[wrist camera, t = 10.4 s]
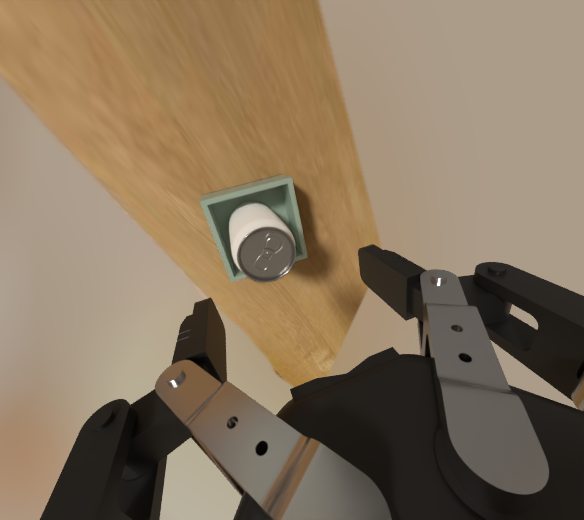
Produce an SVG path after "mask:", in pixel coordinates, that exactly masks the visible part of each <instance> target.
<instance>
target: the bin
mask: <svg viewBox="0 0 584 520" xmlns="http://www.w3.org/2000/svg"><path fill="white" fill-rule="evenodd" d="M246 202H259V203H262V204H264V205H266V206H267V207H269V208H270V209H271V210H272V211H273V212H274V213H275V214H276V215H277V216H278V217H279V219H280V220H281V221H282V222H283V223H284V224H285V225H286V226H287V227H288V228H289V230H290V231H291V233H292V235H293V237H294V240H295V246H296V258H295V262H296V261H299V260H303V259H306V258H308V255H307V250H306V245H305V240H304V235H303V230H302V225H301V220H300V216H299V211H298V206H297V201H296V196H295V191H294V186H293V181H292V177H290V176H286V175H278V176H274V177H270V178H266V179H263V180H259V181H255V182H251V183H247V184H243V185H239V186H236V187H232V188H228V189H224V190H220V191H216V192H212V193H209V194H205V195H202V197H201V199H200V204H201V206H202V209H203V211H204V214H205V217H206V219H207V222H208V224H209V227H210V229H211V232H212V235H213V237H214V240H215V242H216V245H217V247H218V250H219V253H220V255H221V258H222V260H223V263H224V265H225V268H226V271H227V273H228V276H229V278H230V281H231V282H235V281H238V280H241V279H244V278H247V276H246V275H245V274H244V273H243V272H242V271H241V270H240V269H239V268H238V267H237V266H236V264H235V262H234V260H233V256H232V251H231V243H230V234H229V219H230V216H231V214H232V212H233V211H234V210H235V209H236V208H237V207H238V206H239V205H241V204H243V203H246Z"/></svg>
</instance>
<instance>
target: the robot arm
mask: <svg viewBox="0 0 584 520" xmlns="http://www.w3.org/2000/svg"><path fill="white" fill-rule="evenodd" d="M358 256H359V267H360V275H361V278H362V280H363V282H364V283H365V284H366V285H367V286H368V287H369V288H370V289H371V290H372V291H373V292H375V293H376V294H377V295H378V296H379V297H380V298H381V299H382V300H384V301H385V302H386V303H387V304H388V305H389V306H390V307H391V308H393V310H395V311H396V312H397V313H398V314H399V315H400V316H401V317H402V318H404V319H405V320H409V319H411V318H414V317H416V318H417V319H418V333H419V343H420V353H421V355H415V354H401V355H399V354H398V353H397V352H396V351H395V349H394V348H393V347H391V348H389V349H387V350H384V351H382V352H379V353H377V354H374V355H372V356H370V357H368V358H367V359H365V360H364V361H363V362H362V363H360V364H359V365H358V366H356V367H355V368H354V369H352V370H351V371H350V372H348V373H346V374H342V375H336V376H329V377H322V378H316V379H314V380H311V381H309V382H307V383H304V384H302V385H299V386H297V387H295V388H292V389H290V391H291V394H292V397H293V399H292V400H290V401H289V402H288V403H287V404H286V405H285V406H284V407H283V408H282V409H281V410H280V411H279V412H278V414H277V415H274V414H273V413H271V412H270V411H269V410H267V409H266V408H264V407H263V406H262V405H260V404H259V403H258V402H256V401H255V400H253V399H252V398H251V397H249V396H248V395H247V394H245V393H244V392H242V391H241V390H240V389H238V388H237V387H235V386H234V385H233V384H231V383H230V382H228V381H227V373H226V337H225V328H224V325H223V322H222V320H221V317H220V315H219V313H218V311H217V309H216V307H215V304H214V302H213V300H212V299H211V298H208V299H205V300H202V301H199V302H196V303H195V304H194V310H193V314H192V315H189V316H187V317H186V318H185V319H184V321H183V322H182V324H181V326H180V330H179V335H178V339H177V343H176V347H175V351H174V356H173V360H172V365H171V366H169V367H168V368H167V369H166V370H165V371H164V372H163V373H162V374H161V375H160V376H159V378H158V380H157V382H156V384H155V389H154V390H153V391H151V392H150V393H148V394H147V395H145V396H144V397H142V398H141V399H139V400H137V401H136V402H134V403H133V404H131V405H130V404H129V403H128V402H127V401H126V400H124V399H118V400H114V401H111V402H109V403H107V404H106V405H104V406H102V407H101V408H100V409H98V410H97V411H96V412H95V413H94V414H93V415H92V416H91V417H90V418H89V419H88V420H87V421H86V423H85V424H84V425H83V427H82V429H81V430H80V432H79V435H78V437H77V439H76V441H75V444H74V446H73V448H72V450H71V452H70V454H69V457H68V459H67V461H66V463H65V465H64V468H63V470H62V472H61V474H60V477H59V479H58V481H57V483H56V485H55V488H54V490H53V492H52V494H51V496H50V499H49V501H48V503H47V505H46V507H45V510H44V512H43V514H42V516H41V518H40V520H159V517H160V510H161V501H162V494H163V486H164V478H165V470H166V460H167V455H168V454H169V453H171V452H172V451H173V450H175V449H176V448H177V447H179V446H180V445H181V444H182V443H184V442H185V441H186V440H187V439H189V438H190V437H191V438H192V439H193V440H194V442H195V443H196V444H197V445H198V446H199V447H200V448H201V450H202V451H203V452H204V453H205V454H206V455H207V456H208V457H209V459H210V460H211V461H212V462H213V463H214V464H215V465H216V467H217V468H218V469H219V470H220V471H221V472H222V474H223V475H224V476H225V477H226V478H227V480H228V481H229V482H230V483H231V484H232V486H233V487H234V488H235V489H236V490H237V491H238V492H239V494H240V495H241V496H242V498H241V501H240V504H239V506H238V509H237V511H236V514H235V517H234V519H233V520H584V296H582V295H579V294H577V293H575V292H573V291H570V290H568V289H565V288H563V287H561V286H558V285H556V284H554V283H551V282H549V281H546V280H544V279H541V278H539V277H537V276H534V275H532V274H530V273H527V272H525V271H523V270H520V269H518V268H515V267H513V266H511V265H508V264H504V263H498V262H486V263H481V264H479V265H477V266H476V268H475V273H474V275H470V276H461V277H457V276H456V275H455V274H453V273H451V272H449V271H445V270H428V271H427V270H425V269H423V268H422V267H420V266H418V265H416V264H414V263H413V262H411V261H408V260H407V259H406V258H404V257H401V256H400V255H398V254H396V253H395V252H391V251H388V250H382V249H380V248H379V247H377V246H375V245H373V244H372V245H369V246H366V247H363V248H360V249H359V251H358ZM512 304H513V305H515V306H517V307H519V308H520V309H522V310H524V311H526V312H527V313H529V314H531V315H532V316H533V317H534V318H535V319H536V320H537V322H538V330H536V329H534V328H533V327H531V326H529V325H528V324H526V323H524V322H523V321H521V320H519V319H518V318H516V317H514V316H513V315H511V314H509V313H510V309H511V306H512ZM490 340H492V341H493V342H494V343H495V344H497V345H498V346H499V347H501V348H502V349H503V350H505V351H506V352H508V353H509V354H510V355H512V356H513V357H514V358H516V359H517V360H518V361H520V362H521V363H523V364H524V365H525V366H526V367H528V368H529V369H530V370H532V371H533V372H534V373H536V374H537V375H538V376H540V377H541V378H543V379H544V380H545V381H547V382H548V383H549V384H551V385H552V386H553V387H554V388H556V389H557V390H558V391H560V392H561V393H563V394H564V395H565V396H567V397H568V398H569V399H571V400H572V401H573V402H574V404H575V406H576V407H577V408H578V409H576V408H572V407H570V406H567V405H564V404H561V403H558V402H556V401H553V400H550V399H547V398H544V397H541V396H539V395H535V394H533V393H530V392H527V391H524V390H522V389H519V388H516V387H513V386H510V385H508V383H507V380H506V378H505V375H504V373H503V371H502V368H501V366H500V363H499V361H498V358H497V356H496V353H495V351H494V348H493V346H492V343H491V341H490Z"/></svg>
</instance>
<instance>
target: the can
mask: <svg viewBox="0 0 584 520" xmlns="http://www.w3.org/2000/svg"><path fill="white" fill-rule="evenodd" d="M229 234H230V243H231V251H232V256H233V260H234V262H235V264H236V266H237V267H238V268H239V269H240V270H241V271H242V272H243V273H244V274H245V275H246V276H247V277H248V278H250V279H252V280H254V281H257V282H272V281H275V280H278V279H280V278H282V277H283V276H285V275H286V274H287V273H288V272H289V271H290V269H291V268H292V266H293V264H294V262H295V258H296V246H295V240H294V237H293V235H292V233H291V231H290V230H289V228H288V227H287V226H286V225H285V224H284V223H283V222H282V221H281V220H280V219H279V217H278V216H277V215H276V214H275V213H274V212H273V211H272V210H271V209H270V208H269V207H267V206H266V205H264V204H262V203H259V202H246V203H243V204H241V205H239V206H238V207H237V208H236V209H235V210H234V211H233V212H232V214H231V216H230V219H229Z"/></svg>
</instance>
